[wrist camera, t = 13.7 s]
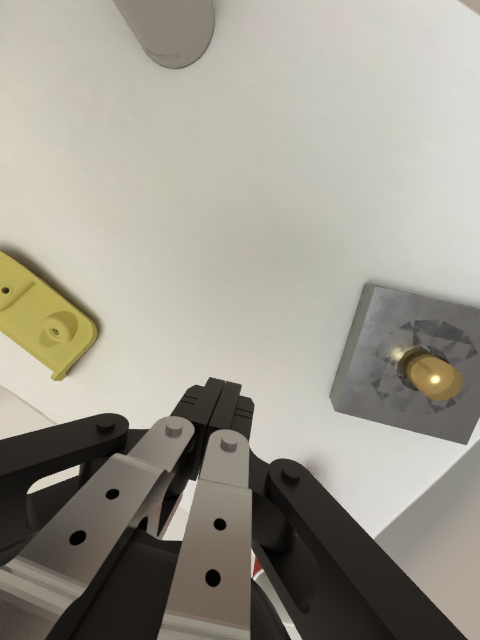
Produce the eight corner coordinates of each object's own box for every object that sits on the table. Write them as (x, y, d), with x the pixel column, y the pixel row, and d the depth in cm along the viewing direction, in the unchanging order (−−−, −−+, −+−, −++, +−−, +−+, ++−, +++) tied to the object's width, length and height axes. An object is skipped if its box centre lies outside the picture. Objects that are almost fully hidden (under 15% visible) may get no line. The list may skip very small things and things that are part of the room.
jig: (364, 283, 36) (375, 286, 32) (496, 312, 35) (524, 319, 31) (329, 396, 40) (335, 411, 36) (447, 426, 39) (466, 445, 35)
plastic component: (100, 330, 40) (45, 387, 38) (112, 332, 47) (65, 380, 45) (-21, 230, 37) (-88, 286, 35) (10, 249, 45) (-44, 295, 42)
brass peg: (396, 339, 37) (428, 360, 29) (428, 346, 37) (468, 369, 29) (386, 367, 38) (415, 395, 30) (417, 374, 38) (454, 404, 30)
